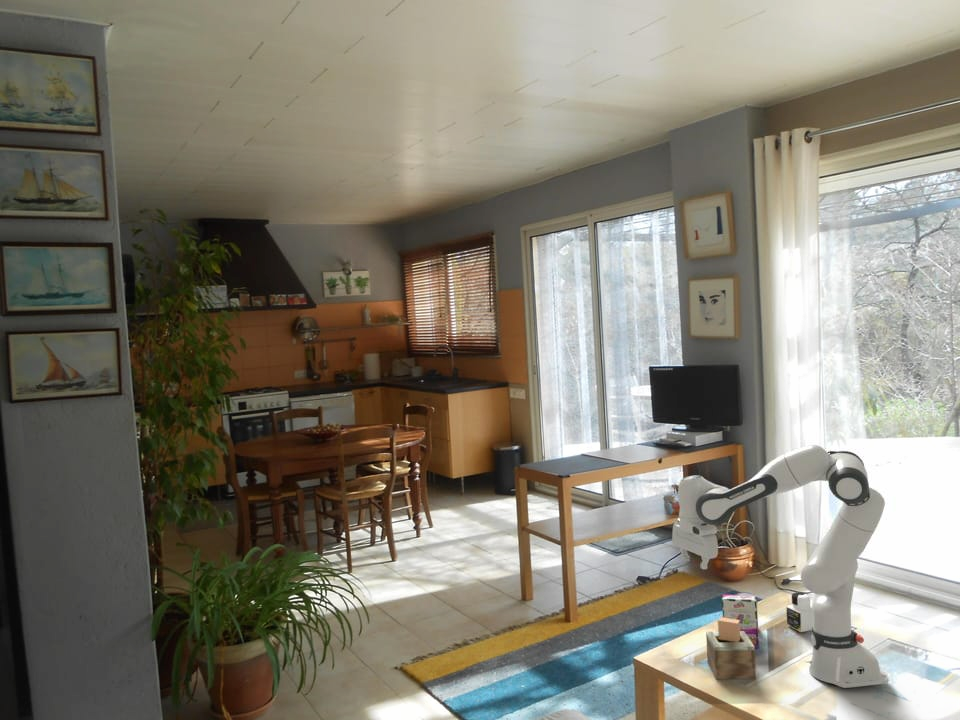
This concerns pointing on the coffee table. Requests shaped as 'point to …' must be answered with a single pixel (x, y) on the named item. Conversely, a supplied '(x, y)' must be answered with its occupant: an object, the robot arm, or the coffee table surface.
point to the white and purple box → (748, 595)
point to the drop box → (731, 657)
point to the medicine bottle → (800, 612)
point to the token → (729, 629)
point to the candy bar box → (742, 614)
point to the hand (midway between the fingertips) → (694, 564)
